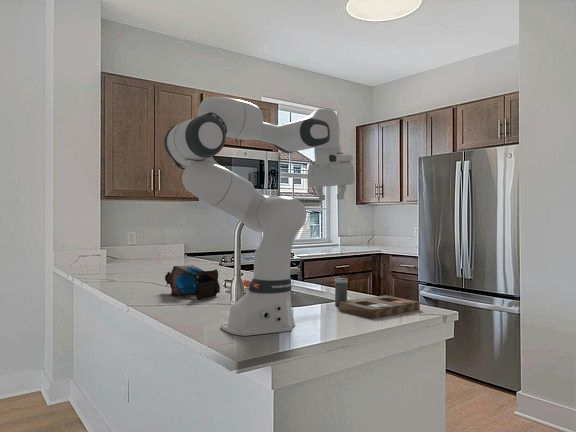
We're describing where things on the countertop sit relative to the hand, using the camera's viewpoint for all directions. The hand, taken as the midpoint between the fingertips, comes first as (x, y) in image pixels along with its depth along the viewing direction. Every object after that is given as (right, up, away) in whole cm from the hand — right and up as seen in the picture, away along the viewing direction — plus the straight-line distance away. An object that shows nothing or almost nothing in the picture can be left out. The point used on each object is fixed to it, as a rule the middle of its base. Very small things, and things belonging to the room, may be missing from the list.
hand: (331, 199), depth 152 cm
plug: (+5, -39, +16) cm, 42 cm away
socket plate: (+18, -39, +8) cm, 44 cm away
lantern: (-56, -39, +35) cm, 76 cm away
